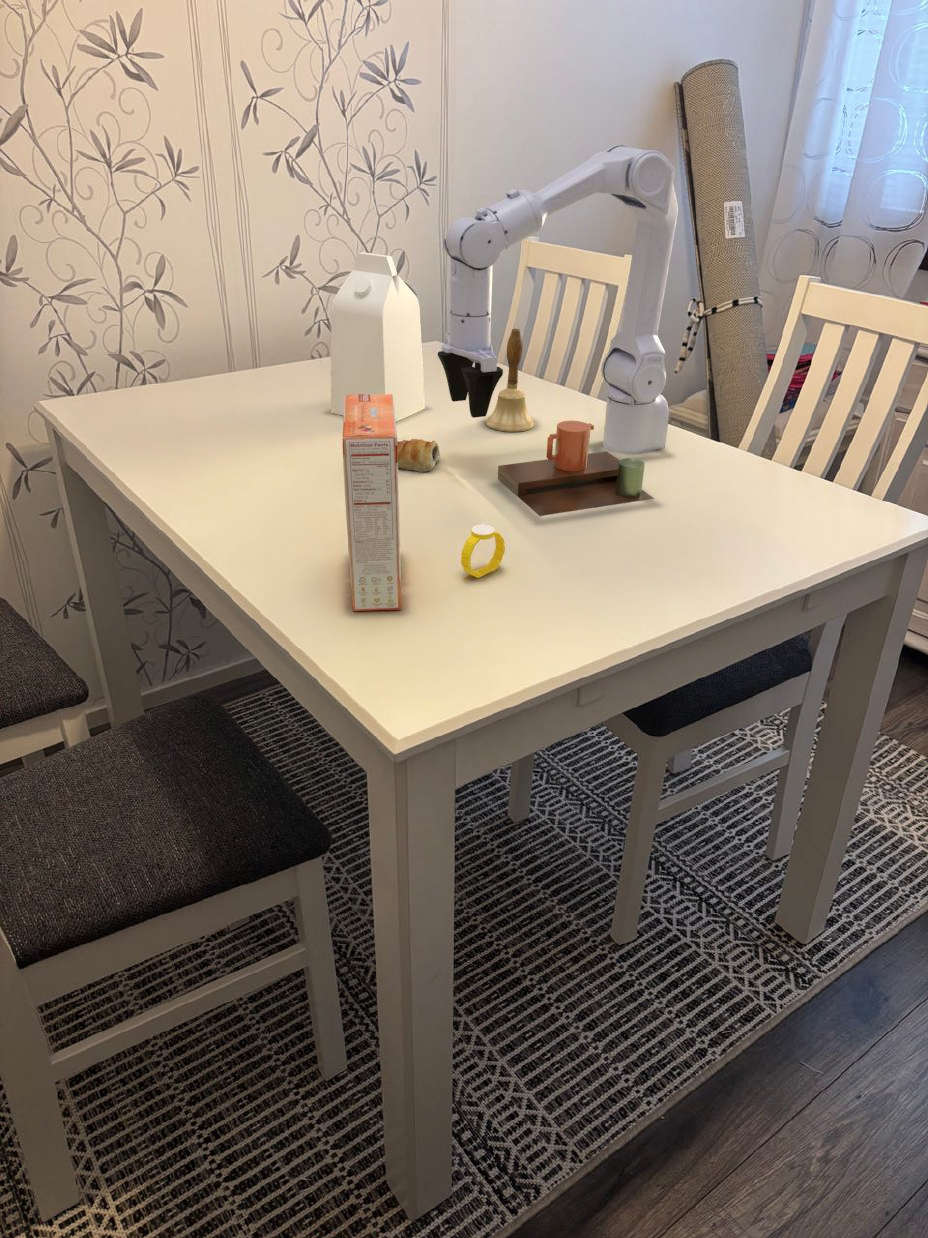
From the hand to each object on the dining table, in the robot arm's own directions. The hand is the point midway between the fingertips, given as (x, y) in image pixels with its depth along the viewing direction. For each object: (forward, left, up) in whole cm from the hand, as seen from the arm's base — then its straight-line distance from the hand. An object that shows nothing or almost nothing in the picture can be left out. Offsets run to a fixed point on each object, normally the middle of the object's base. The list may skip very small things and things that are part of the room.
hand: (468, 408), depth 141 cm
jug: (-12, +9, -7) cm, 17 cm away
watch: (+11, +31, -10) cm, 34 cm away
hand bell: (-15, -18, -10) cm, 26 cm away
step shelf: (-11, +13, -10) cm, 20 cm away
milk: (+4, -32, -10) cm, 34 cm away
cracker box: (+24, +29, -10) cm, 38 cm away
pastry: (+7, -6, -10) cm, 14 cm away
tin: (-18, +17, -9) cm, 26 cm away
